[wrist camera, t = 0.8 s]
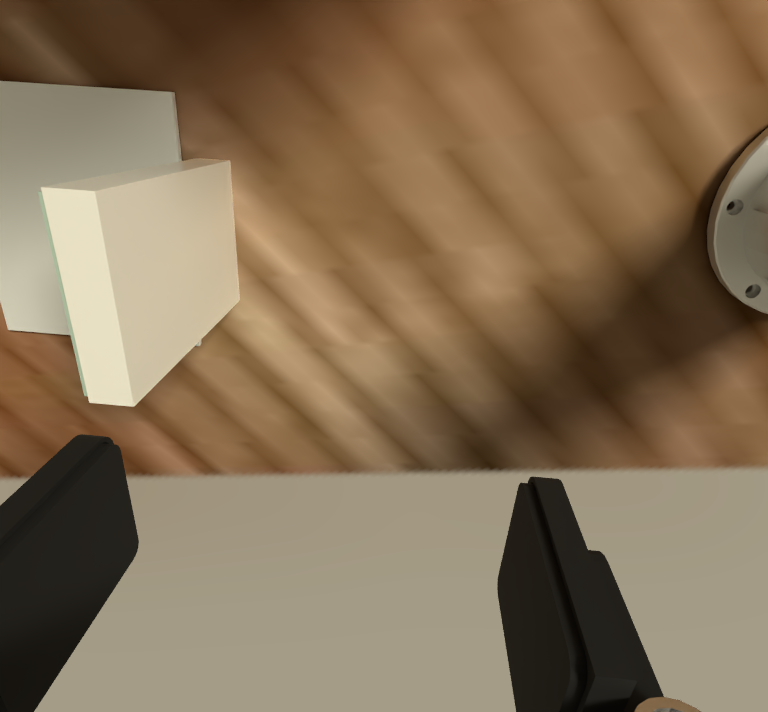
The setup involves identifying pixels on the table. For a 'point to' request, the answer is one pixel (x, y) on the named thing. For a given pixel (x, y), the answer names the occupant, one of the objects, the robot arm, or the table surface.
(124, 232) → the glazed tile
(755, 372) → the table surface
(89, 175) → the mat
